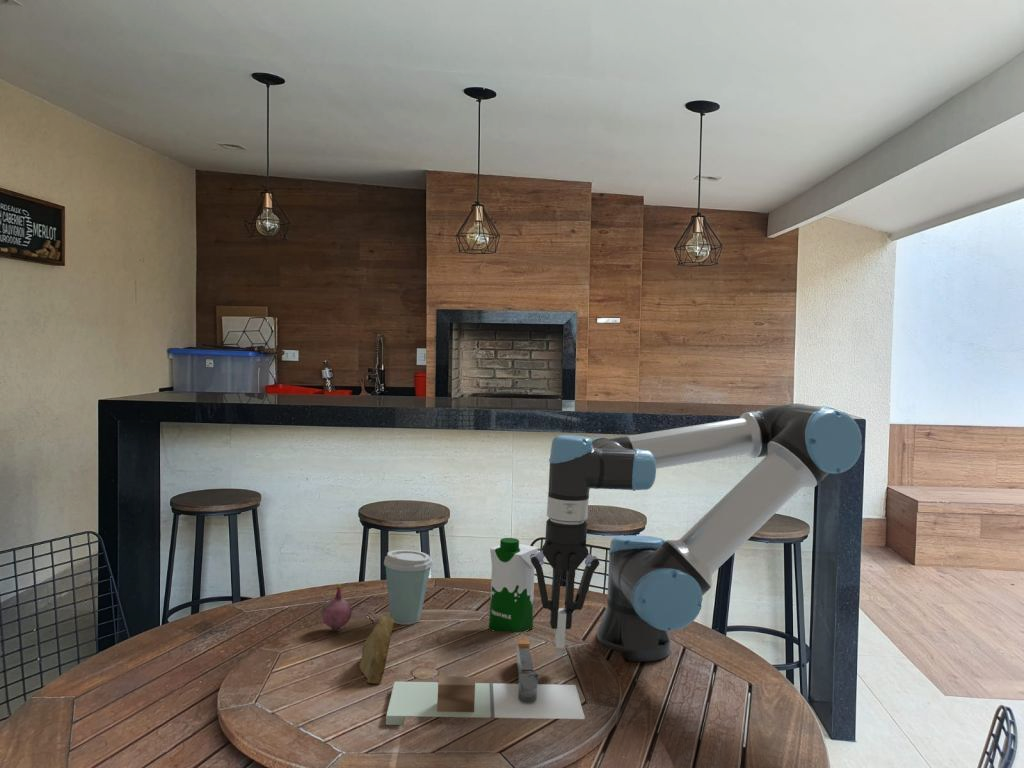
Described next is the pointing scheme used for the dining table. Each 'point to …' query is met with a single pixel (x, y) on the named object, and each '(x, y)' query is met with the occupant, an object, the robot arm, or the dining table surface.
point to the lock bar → (526, 672)
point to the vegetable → (336, 611)
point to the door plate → (485, 702)
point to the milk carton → (512, 586)
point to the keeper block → (456, 694)
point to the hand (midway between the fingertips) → (559, 645)
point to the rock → (376, 650)
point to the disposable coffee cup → (406, 584)
